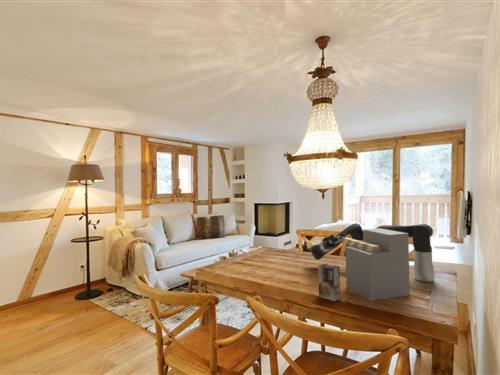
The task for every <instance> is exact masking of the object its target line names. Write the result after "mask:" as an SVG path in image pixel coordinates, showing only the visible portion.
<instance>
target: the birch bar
mask: <svg viewBox="0 0 500 375" xmlns="http://www.w3.org/2000/svg"><path fill="white" fill-rule="evenodd" d="M341 244H345V245H347V246H353V247H357V248H360V249H363V250H366V251H370V252H373V253H379V252H380V248H379V246H377V245H373V244H370V243H366V242H363V240H355V239H352V238H351V237H348V236H346V237H342V242H341Z"/></svg>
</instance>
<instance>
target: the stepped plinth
mask: <svg viewBox="0 0 500 375" xmlns="http://www.w3.org/2000/svg"><path fill="white" fill-rule="evenodd" d="M362 230H363V240H362V242H366V243H370V244H373V245H377V246H379V248H380V252H379V253H373V252H370V251H366V250H363V249H360V248H357V247H353V246H350V245H347V246H345V285H346V286H345V288H346V289H347V290H350V291H352V292H354V293H355V294H357V295H359V296H361V297H362V298H364V299H366V300H368V301H370V302H373V301H374V302H375V301H380V300H385V299H387V300H388V299H392V298H397V297H398V298H400V297H406V296H410V295H411V294H410V293H411V291H410V251H409V250H410V248H409V247H410V244H409V237H408V233H403V232H398V231H392V230H387V229H381V228H379V229H376V228H367V229H365V228H364V229H362Z"/></svg>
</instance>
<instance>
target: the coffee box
mask: <svg viewBox="0 0 500 375" xmlns="http://www.w3.org/2000/svg"><path fill="white" fill-rule="evenodd" d="M317 270H318V272H317V273H318V297H319V298H322V299H326V300H328V301H332V302H336V301H338V300H340V299H341V278H340V277H341V276H340V274H341V272H340V266H338V265H332V264H327V263H323V264H320V265H318V268H317ZM339 298H340V299H339Z"/></svg>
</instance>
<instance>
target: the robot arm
mask: <svg viewBox="0 0 500 375" xmlns="http://www.w3.org/2000/svg"><path fill="white" fill-rule="evenodd" d="M379 228H381V229H387V230H392V231H398V232H403V233H408V238H412V245H413V258H414V259H413V261H414V262H413V263H414V279H415V280H416V281H420V282H426V283H427V282H434V281H435V276H434V275H435V274H434V273H435V271H434V270H435V268H434V264H433V247H432V245H431V237H432V236H433V235H434V229H433V228H432V227H431V225H429V224H427V223H420V224H412V225H398V224H397V225H395V224H393V225H391V224H389V225H388V224H387V225H386V224H385V225H384V224H383V225H378V226H377V227H375V229H379ZM363 230H364V229H363V228H362V226H361V224H359V223H356V222H355V223H352V224H350V225H349V226H347V227H345V228H344V229H343V230H341V231H340V232H338V234H337V235H335V236H334V234H331V235H330V236H325V237H324V238H322V240H321V242H319V243H318V244H313V245H312V246H310V253H311V255H312V256H313V257H314V259H315V260H318V261H320V260H321V259H323V257H324V256H326V254H328V253H329V252H331V251H332V250H335V249H337V248H338V247H339V246H340V245H341V244H342V237H348V236H349V235H350V238H351V239H355V240H358V241H363Z"/></svg>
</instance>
